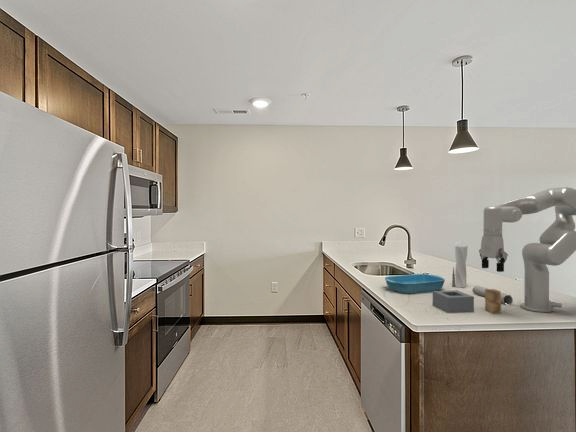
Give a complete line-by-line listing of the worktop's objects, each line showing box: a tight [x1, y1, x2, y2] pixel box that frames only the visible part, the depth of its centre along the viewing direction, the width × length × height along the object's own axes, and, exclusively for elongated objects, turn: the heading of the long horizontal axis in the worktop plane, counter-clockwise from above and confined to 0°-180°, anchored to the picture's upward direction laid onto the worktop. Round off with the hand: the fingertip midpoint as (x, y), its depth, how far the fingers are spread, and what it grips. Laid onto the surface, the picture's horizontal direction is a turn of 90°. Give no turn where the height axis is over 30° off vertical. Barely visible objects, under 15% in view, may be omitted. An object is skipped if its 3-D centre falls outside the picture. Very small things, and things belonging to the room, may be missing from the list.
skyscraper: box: [451, 241, 468, 289], centre depth 210 cm, size 8×8×28 cm
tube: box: [471, 285, 514, 306], centre depth 181 cm, size 5×5×25 cm
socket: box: [432, 289, 475, 314], centre depth 163 cm, size 13×13×7 cm
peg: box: [484, 288, 502, 314], centre depth 157 cm, size 4×4×10 cm
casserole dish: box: [384, 273, 446, 294], centre depth 204 cm, size 37×22×7 cm, turn 108°
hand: (492, 269), depth 157 cm, fingers open, 9 cm apart
